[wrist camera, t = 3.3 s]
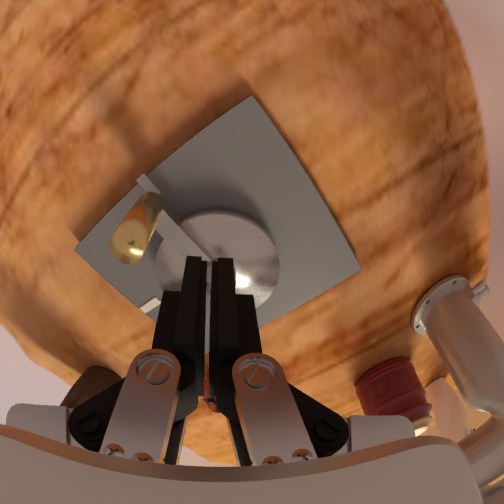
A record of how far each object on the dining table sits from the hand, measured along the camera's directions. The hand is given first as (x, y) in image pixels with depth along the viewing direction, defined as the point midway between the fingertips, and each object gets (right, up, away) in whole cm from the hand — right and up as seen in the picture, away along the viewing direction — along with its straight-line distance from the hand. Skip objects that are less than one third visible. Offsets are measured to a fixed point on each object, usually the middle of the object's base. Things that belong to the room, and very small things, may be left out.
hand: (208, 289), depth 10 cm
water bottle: (+52, -35, +47) cm, 78 cm away
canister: (+28, -24, +38) cm, 53 cm away
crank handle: (-3, +2, +17) cm, 17 cm away
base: (-2, +1, +19) cm, 19 cm away
